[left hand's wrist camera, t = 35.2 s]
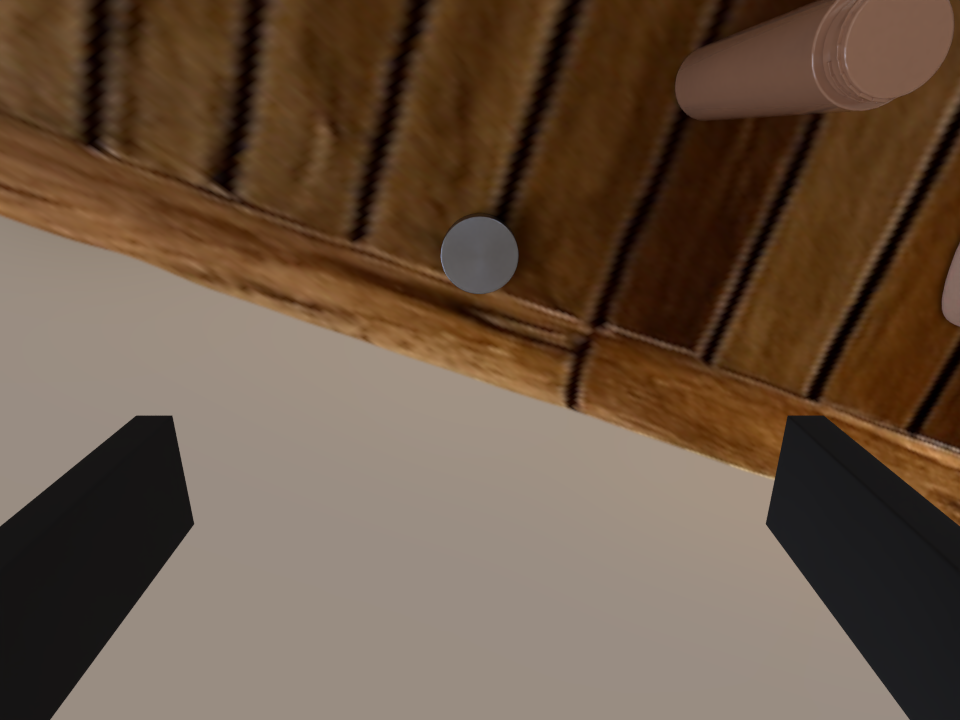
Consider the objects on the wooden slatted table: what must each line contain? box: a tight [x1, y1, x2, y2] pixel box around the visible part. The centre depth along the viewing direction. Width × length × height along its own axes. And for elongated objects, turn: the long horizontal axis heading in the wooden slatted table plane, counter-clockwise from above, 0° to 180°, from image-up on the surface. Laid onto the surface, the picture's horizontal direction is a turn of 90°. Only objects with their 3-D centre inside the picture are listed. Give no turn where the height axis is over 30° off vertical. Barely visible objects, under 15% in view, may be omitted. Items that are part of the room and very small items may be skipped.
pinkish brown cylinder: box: [675, 0, 954, 121], centre depth 28 cm, size 4×4×17 cm
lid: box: [441, 213, 518, 294], centre depth 39 cm, size 5×5×2 cm
